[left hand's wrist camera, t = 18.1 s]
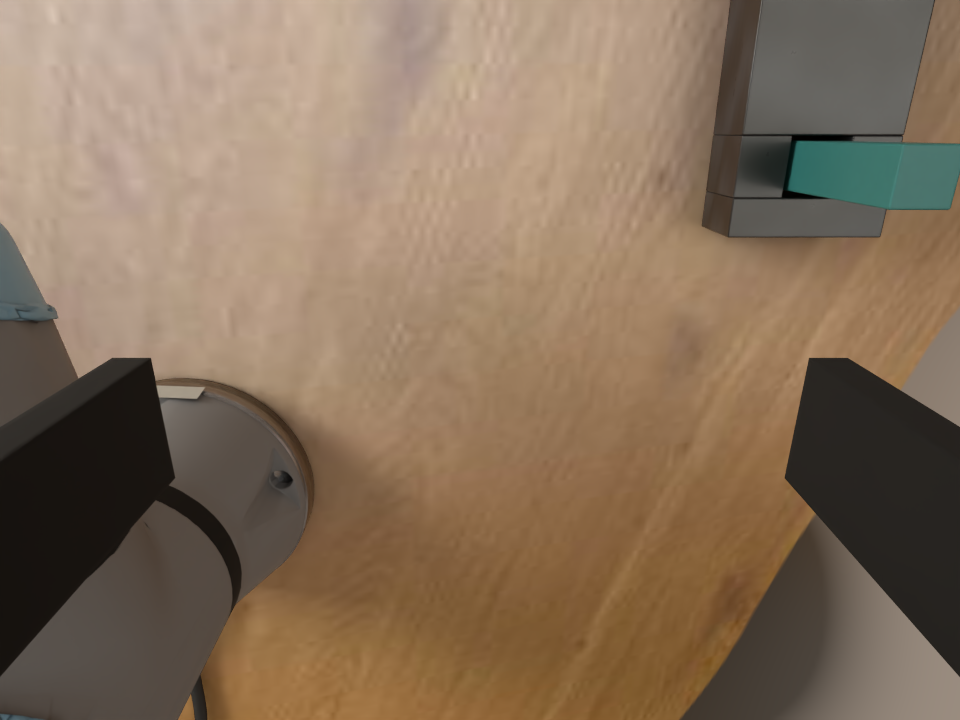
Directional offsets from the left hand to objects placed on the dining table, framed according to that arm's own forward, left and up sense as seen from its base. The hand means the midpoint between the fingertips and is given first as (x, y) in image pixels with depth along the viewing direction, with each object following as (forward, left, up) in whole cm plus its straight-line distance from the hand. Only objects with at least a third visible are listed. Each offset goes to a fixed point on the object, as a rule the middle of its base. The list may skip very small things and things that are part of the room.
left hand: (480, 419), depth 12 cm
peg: (+12, -13, -25) cm, 30 cm away
